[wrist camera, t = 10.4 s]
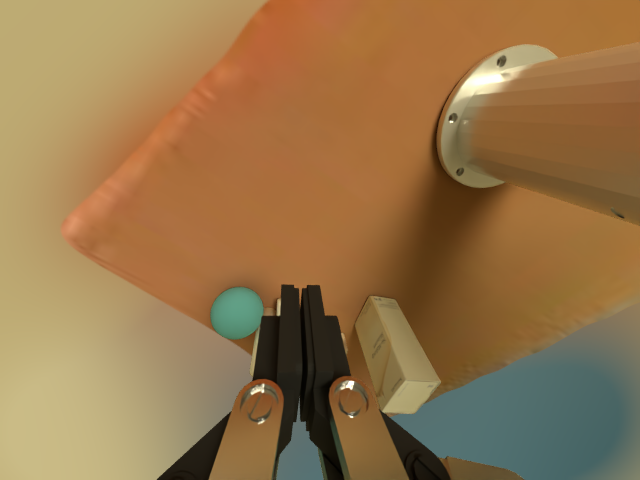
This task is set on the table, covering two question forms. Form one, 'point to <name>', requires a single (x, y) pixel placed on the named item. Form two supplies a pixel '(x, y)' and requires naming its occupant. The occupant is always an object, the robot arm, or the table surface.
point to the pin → (267, 312)
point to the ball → (236, 313)
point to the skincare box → (394, 357)
